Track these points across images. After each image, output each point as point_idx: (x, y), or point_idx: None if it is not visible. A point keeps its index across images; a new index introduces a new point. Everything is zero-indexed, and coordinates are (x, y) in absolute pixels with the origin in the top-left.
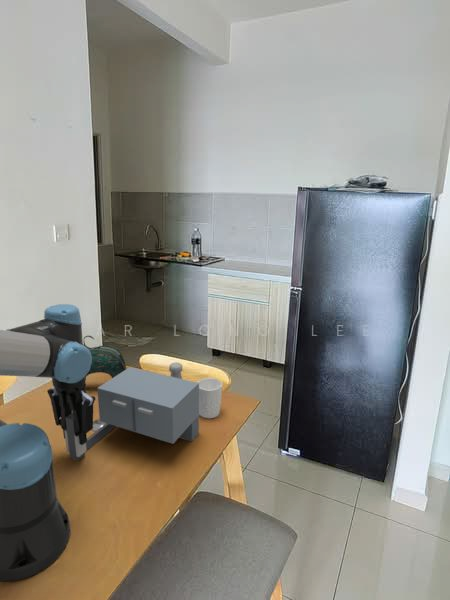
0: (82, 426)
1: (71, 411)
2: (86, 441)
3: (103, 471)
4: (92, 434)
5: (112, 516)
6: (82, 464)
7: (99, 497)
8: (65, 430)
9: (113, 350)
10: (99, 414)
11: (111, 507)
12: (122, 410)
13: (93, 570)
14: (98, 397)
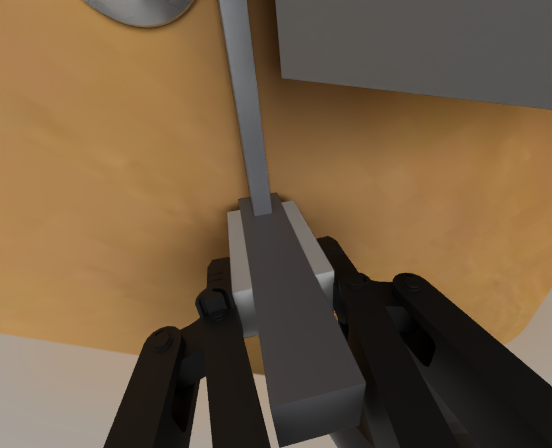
0: (419, 366)
1: (264, 427)
2: (332, 240)
3: (393, 206)
4: (243, 124)
5: (483, 275)
6: (308, 225)
7: (433, 264)
8: (247, 334)
9: None
10: (301, 79)
11: (472, 264)
12: None
13: (490, 334)
14: (490, 100)
